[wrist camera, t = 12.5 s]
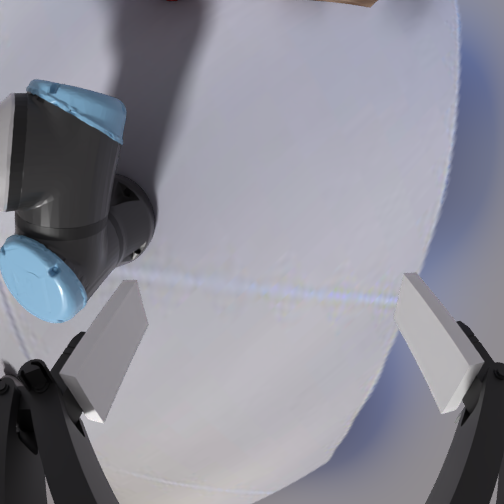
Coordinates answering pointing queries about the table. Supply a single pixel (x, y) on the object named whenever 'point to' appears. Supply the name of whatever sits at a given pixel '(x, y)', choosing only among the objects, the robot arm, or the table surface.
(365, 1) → the bore block
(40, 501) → the robot arm
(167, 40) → the table surface
